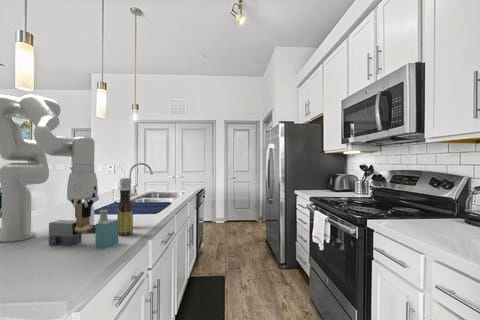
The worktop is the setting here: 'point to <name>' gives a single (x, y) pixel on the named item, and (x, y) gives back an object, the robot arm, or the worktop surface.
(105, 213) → the flask
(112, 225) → the socket block
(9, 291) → the worktop surface
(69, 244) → the sleeve
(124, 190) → the sauce bottle
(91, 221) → the can
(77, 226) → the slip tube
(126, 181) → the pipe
